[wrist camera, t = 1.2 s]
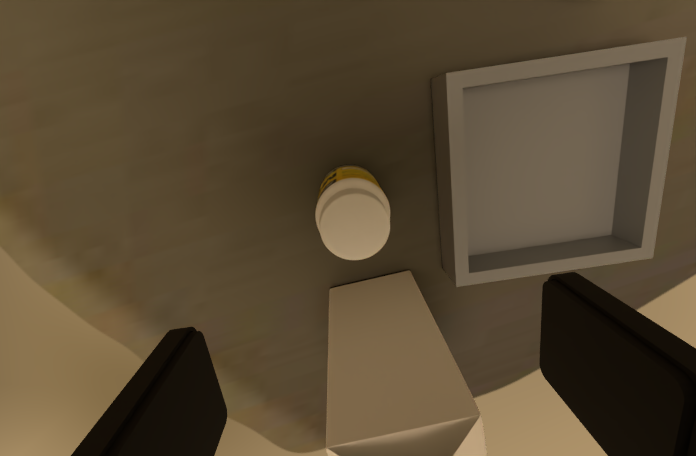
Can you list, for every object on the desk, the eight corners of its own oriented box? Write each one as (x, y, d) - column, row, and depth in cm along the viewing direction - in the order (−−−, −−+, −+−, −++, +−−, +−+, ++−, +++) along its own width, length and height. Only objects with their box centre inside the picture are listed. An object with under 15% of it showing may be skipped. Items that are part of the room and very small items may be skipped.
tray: (430, 78, 24) (446, 73, 21) (638, 47, 24) (686, 36, 21) (442, 267, 29) (456, 286, 26) (616, 241, 29) (652, 258, 26)
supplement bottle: (327, 156, 26) (325, 174, 18) (386, 173, 26) (409, 197, 18) (312, 215, 27) (304, 256, 19) (368, 229, 28) (383, 275, 20)
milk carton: (347, 353, 32) (366, 670, 14) (328, 287, 29) (321, 559, 11) (422, 336, 31) (544, 636, 13) (409, 268, 29) (534, 516, 11)
